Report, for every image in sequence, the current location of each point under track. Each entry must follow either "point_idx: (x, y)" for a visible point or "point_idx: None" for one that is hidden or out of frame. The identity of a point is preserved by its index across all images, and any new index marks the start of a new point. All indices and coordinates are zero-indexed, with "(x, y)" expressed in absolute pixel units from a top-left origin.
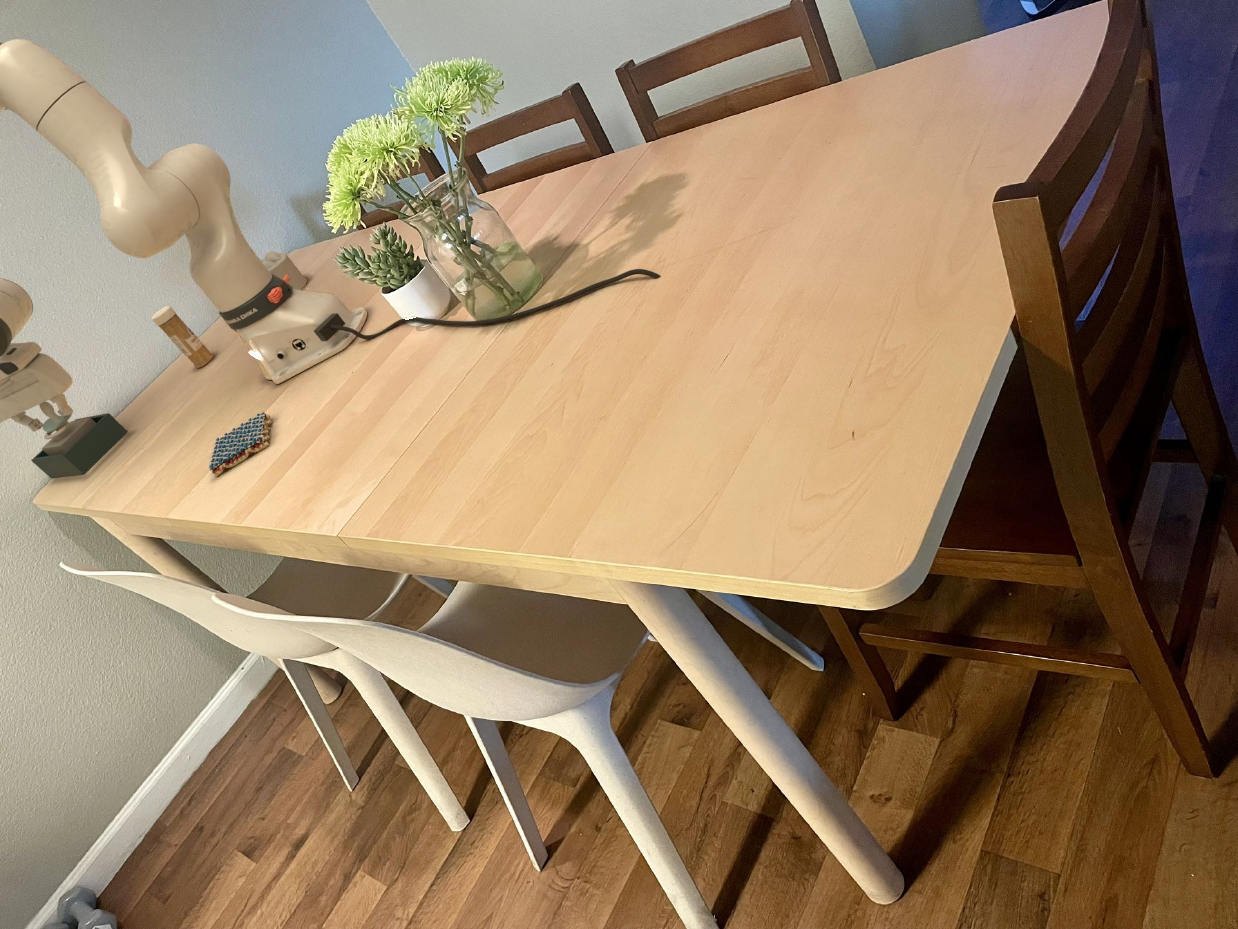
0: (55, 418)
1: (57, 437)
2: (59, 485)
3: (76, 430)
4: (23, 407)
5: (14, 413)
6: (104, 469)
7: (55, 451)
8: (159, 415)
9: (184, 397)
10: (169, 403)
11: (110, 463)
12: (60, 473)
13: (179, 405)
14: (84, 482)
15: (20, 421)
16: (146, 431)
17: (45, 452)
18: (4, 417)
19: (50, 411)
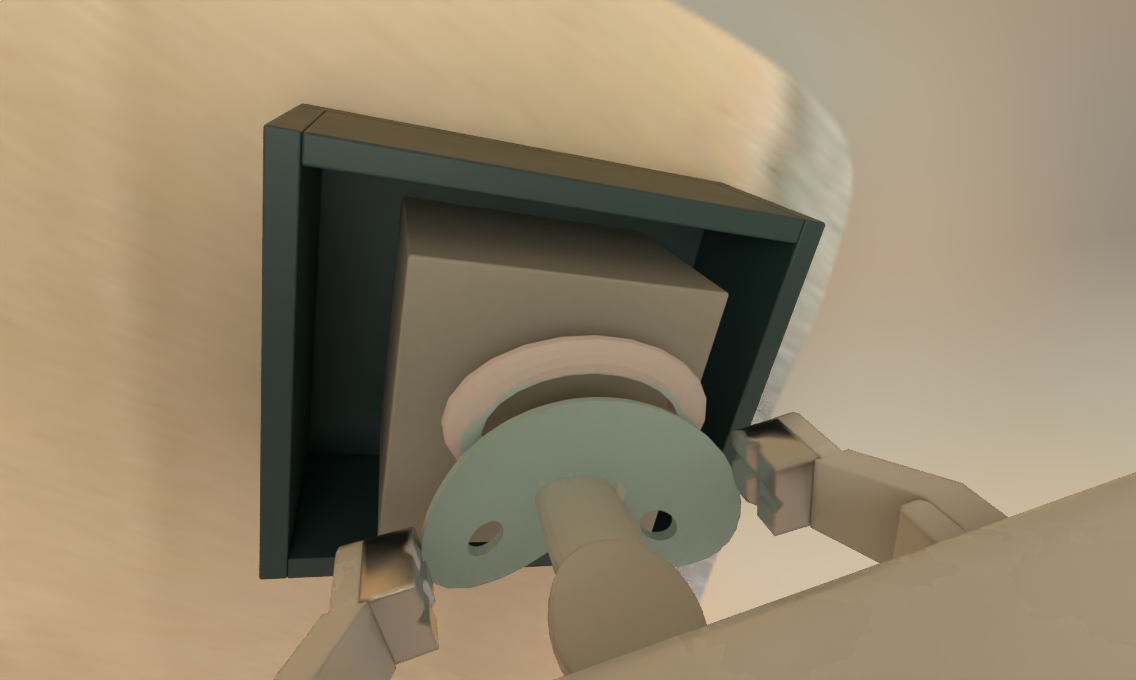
0: (565, 527)
1: (623, 389)
2: (610, 112)
3: (389, 425)
4: (742, 660)
5: (926, 571)
6: (143, 146)
7: (566, 260)
8: (160, 567)
9: (69, 668)
10: (193, 637)
11: (147, 204)
12: (586, 162)
13: (16, 622)
14: (267, 43)
15: (896, 486)
16: (103, 457)
17: (760, 307)
18: (1094, 519)
19: (557, 595)
